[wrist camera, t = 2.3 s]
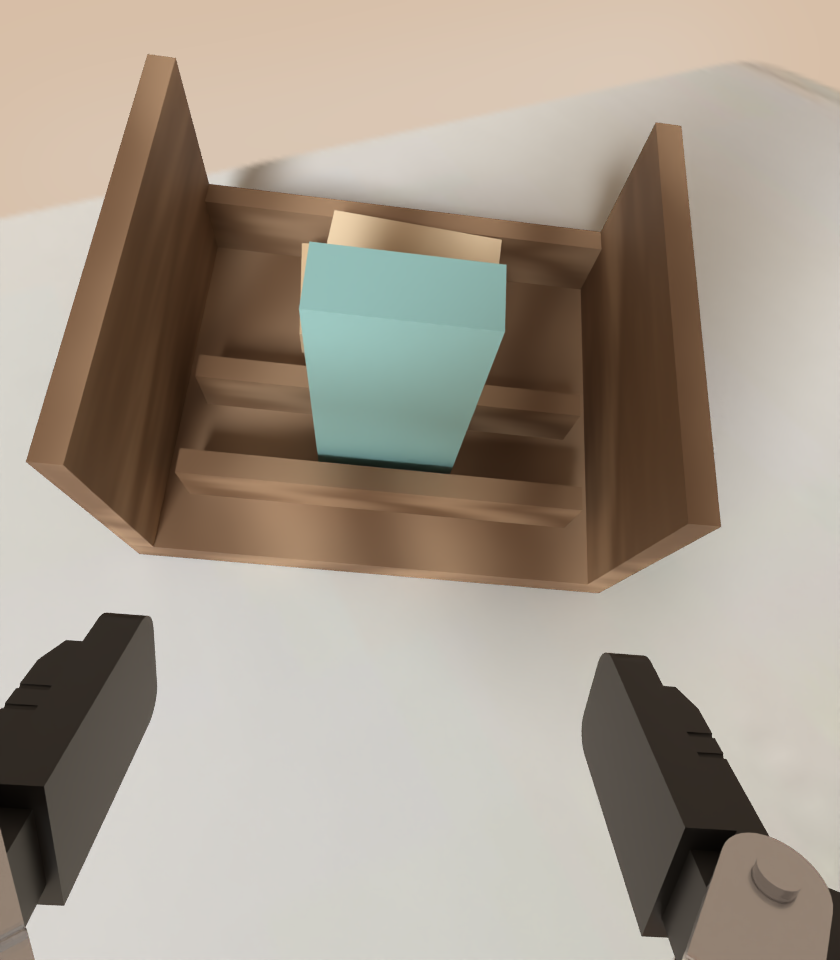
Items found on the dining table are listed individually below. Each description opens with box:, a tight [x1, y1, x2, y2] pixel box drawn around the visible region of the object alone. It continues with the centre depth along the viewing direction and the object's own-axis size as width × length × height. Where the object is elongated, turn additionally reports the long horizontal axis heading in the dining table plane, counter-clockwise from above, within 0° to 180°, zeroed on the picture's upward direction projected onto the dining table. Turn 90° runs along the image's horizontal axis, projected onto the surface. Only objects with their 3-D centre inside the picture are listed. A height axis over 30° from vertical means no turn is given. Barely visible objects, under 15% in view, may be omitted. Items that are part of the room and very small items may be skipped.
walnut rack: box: [26, 54, 721, 593], centre depth 27 cm, size 20×16×10 cm
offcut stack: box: [299, 210, 502, 364], centre depth 29 cm, size 9×5×4 cm, turn 86°
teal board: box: [299, 242, 507, 474], centre depth 24 cm, size 6×2×12 cm, turn 86°
